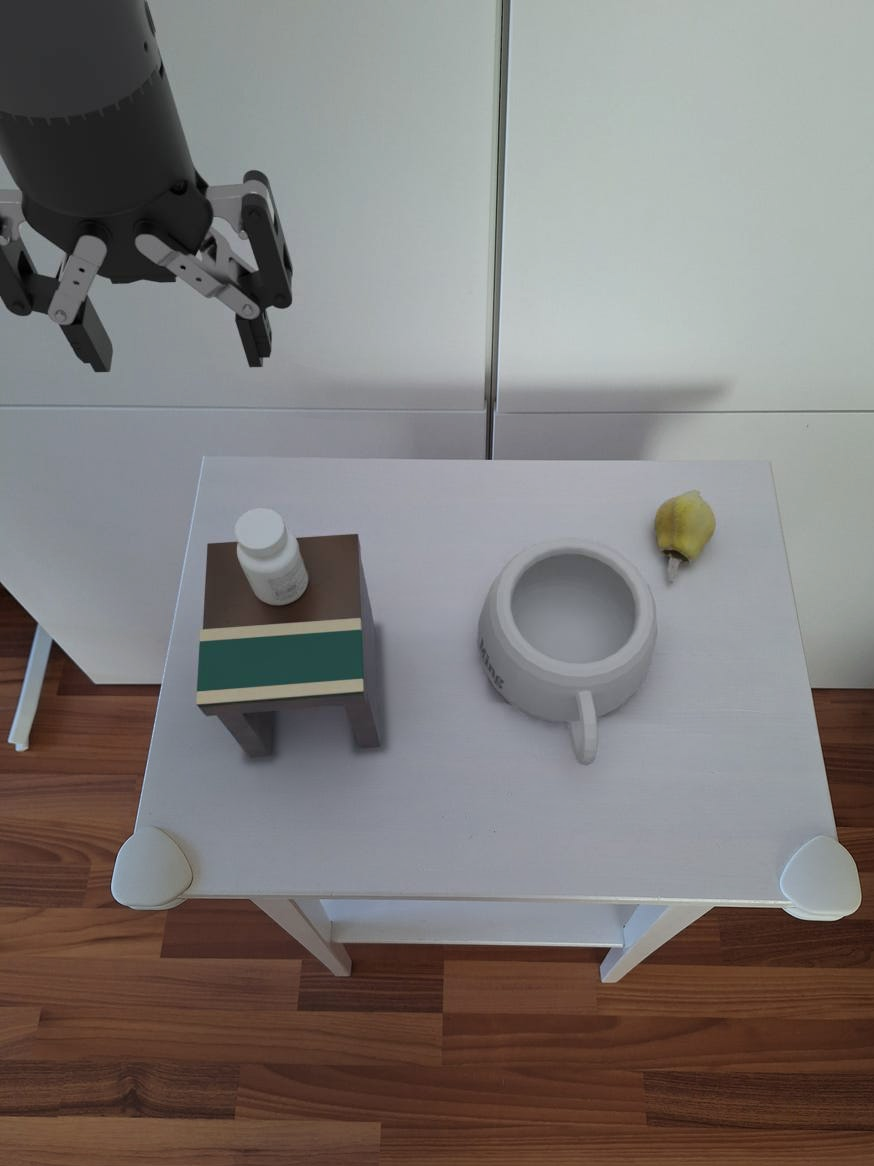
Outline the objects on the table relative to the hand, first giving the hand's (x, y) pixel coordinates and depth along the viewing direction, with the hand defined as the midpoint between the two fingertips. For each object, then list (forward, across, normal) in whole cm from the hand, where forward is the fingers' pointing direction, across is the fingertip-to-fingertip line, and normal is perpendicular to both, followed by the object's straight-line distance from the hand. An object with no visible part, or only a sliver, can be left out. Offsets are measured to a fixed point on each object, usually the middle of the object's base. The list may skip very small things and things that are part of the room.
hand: (182, 359), depth 46 cm
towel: (+20, +2, -11) cm, 23 cm away
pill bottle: (+20, +2, -4) cm, 20 cm away
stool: (+36, +2, -7) cm, 36 cm away
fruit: (+36, +40, +7) cm, 54 cm away
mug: (+36, +26, -6) cm, 45 cm away
